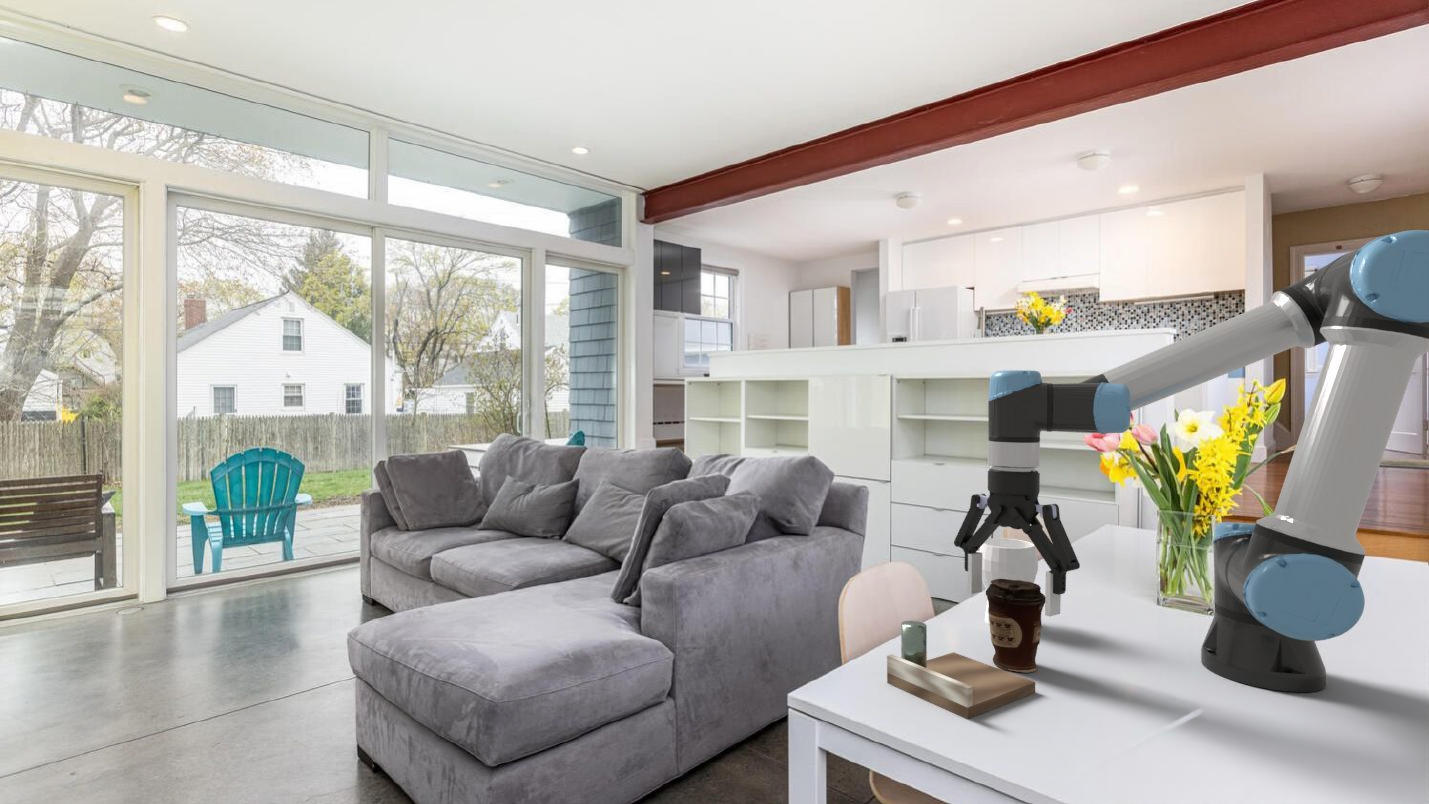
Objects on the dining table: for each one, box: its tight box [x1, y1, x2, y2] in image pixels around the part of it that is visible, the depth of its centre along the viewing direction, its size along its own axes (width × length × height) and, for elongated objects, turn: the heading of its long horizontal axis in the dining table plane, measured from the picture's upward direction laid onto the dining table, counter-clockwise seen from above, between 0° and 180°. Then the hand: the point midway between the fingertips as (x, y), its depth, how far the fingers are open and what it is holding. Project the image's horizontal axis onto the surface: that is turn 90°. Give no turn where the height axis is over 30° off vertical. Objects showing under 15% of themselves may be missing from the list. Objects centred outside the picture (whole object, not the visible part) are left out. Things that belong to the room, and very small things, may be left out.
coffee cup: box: [985, 579, 1045, 674], centre depth 109 cm, size 9×8×13 cm
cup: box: [976, 537, 1039, 626], centre depth 129 cm, size 11×11×15 cm
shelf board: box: [886, 652, 1036, 720], centre depth 101 cm, size 14×15×4 cm
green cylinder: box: [900, 620, 928, 668], centre depth 103 cm, size 4×4×7 cm
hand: (1011, 603), depth 109 cm, fingers open, 13 cm apart
